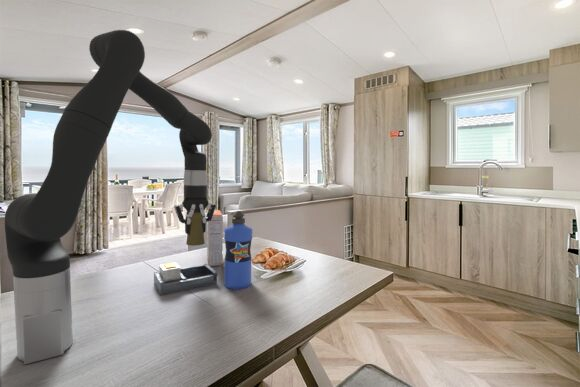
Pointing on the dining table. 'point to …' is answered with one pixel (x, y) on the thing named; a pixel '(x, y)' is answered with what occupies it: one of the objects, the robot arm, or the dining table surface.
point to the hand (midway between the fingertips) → (195, 234)
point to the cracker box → (215, 239)
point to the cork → (196, 230)
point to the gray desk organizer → (183, 277)
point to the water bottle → (237, 253)
